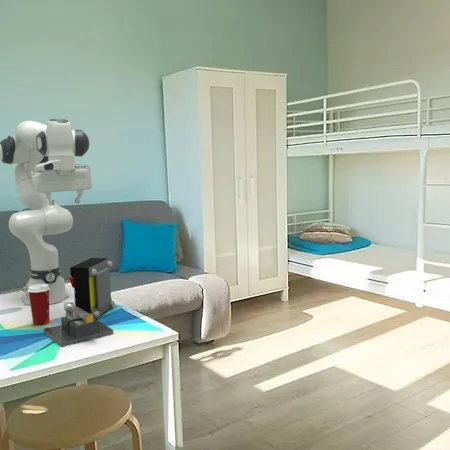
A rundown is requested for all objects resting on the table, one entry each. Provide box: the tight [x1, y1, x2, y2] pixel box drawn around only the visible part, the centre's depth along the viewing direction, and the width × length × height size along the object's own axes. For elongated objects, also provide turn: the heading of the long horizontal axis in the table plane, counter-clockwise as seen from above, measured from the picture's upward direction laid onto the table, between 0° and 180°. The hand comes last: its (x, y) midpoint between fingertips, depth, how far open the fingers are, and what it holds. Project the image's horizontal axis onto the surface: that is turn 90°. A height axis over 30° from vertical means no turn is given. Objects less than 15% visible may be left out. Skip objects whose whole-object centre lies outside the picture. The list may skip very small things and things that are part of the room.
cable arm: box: [63, 301, 93, 323], centre depth 173 cm, size 20×3×2 cm, turn 38°
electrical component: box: [68, 257, 115, 320], centre depth 196 cm, size 18×10×20 cm, turn 168°
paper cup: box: [28, 284, 50, 326], centre depth 186 cm, size 8×8×14 cm
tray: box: [43, 311, 114, 348], centre depth 174 cm, size 17×18×6 cm
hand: (64, 204), depth 181 cm, fingers open, 8 cm apart
